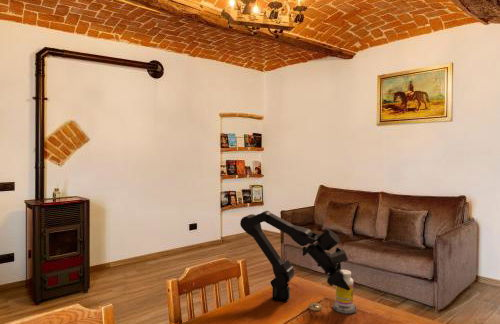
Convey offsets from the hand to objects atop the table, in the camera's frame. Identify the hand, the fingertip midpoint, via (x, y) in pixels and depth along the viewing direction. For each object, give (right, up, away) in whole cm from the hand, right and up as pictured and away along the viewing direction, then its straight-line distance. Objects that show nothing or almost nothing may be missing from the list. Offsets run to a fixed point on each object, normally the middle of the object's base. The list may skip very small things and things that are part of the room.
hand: (348, 286), depth 138 cm
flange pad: (-1, -9, +1) cm, 9 cm away
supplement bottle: (-1, -7, +1) cm, 8 cm away
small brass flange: (-13, -9, +1) cm, 16 cm away
